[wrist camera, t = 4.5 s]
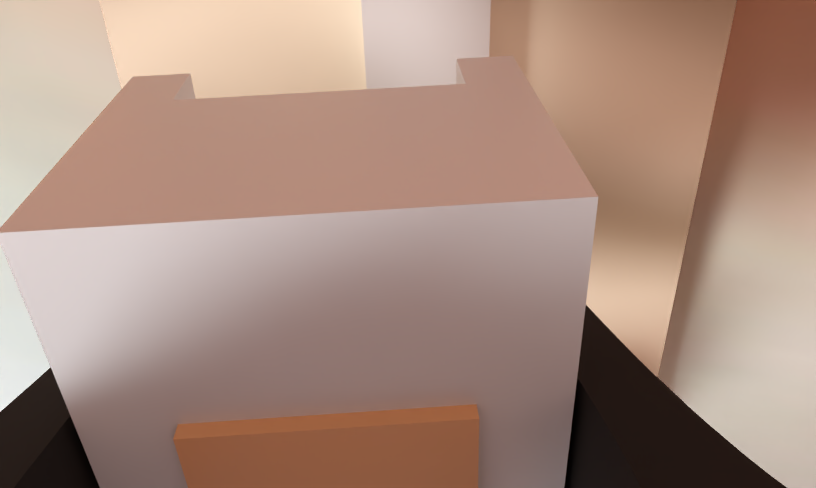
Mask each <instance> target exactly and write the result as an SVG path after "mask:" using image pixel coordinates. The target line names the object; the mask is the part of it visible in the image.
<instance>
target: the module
mask: <svg viewBox="0 0 816 488" xmlns="http://www.w3.org/2000/svg"><path fill="white" fill-rule="evenodd" d="M456 82H457V84H451V85H434V86H416V87H398V88H380V89H362V90H344V91H327V92H309V93H291V94H273V95H255V96H238V97H220V98H202V99H196V98H195V93H194V88H193V83H192V79H191V74H190V73H189V74H171V75H152V76H134V77H132V78H131V79H130V80H129V81H128V83H127V84H126V85H125V86H124V87H123V88H122V89H121V91H120V92H119V93H118V94H117V95H116V96H115V97H114V99H113V100H112V101H111V102H110V103H109V104H108V105H107V107H106V108H105V109H104V110H103V111H102V112H101V113H100V115H99V116H98V117H97V118H96V119H95V120H94V122H93V123H92V124H91V125H90V126H89V127H88V128H87V130H86V131H85V132H84V133H83V134H82V135H81V136H80V138H79V139H78V140H77V141H76V142H75V143H74V144H73V146H72V147H71V148H70V149H69V150H68V151H67V152H66V154H65V155H64V156H63V157H62V158H61V159H60V160H59V162H58V163H57V164H56V165H55V166H54V167H53V168H52V170H51V171H50V172H49V173H48V174H47V175H46V176H45V178H44V179H43V180H42V181H41V182H40V183H39V184H38V186H37V187H36V188H35V189H34V190H33V191H32V192H31V194H30V195H29V196H28V197H27V198H26V199H25V200H24V202H23V203H22V204H21V205H20V206H19V207H18V208H17V210H16V211H15V212H14V213H13V214H12V215H11V216H10V218H9V219H8V220H7V221H6V222H5V223H4V224H3V226H2V227H1V228H0V244H1V247H2V249H3V252H4V254H5V256H6V259H7V261H8V264H9V266H10V269H11V271H12V274H13V276H14V279H15V281H16V283H17V286H18V288H19V291H20V293H21V296H22V298H23V301H24V303H25V305H26V308H27V310H28V313H29V315H30V318H31V320H32V323H33V325H34V328H35V330H36V332H37V335H38V337H39V340H40V342H41V345H42V347H43V350H44V352H45V354H46V357H47V359H48V362H49V364H50V367H51V369H52V372H53V374H54V377H55V379H56V381H57V384H58V386H59V389H60V391H61V394H62V396H63V399H64V401H65V403H66V406H67V408H68V411H69V413H70V416H71V418H72V421H73V423H74V425H75V428H76V430H77V433H78V435H79V438H80V440H81V443H82V445H83V448H84V450H85V452H86V455H87V457H88V460H89V462H90V465H91V467H92V470H93V472H94V474H95V477H96V479H97V482H98V484H99V487H100V488H564V486H565V477H566V469H567V460H568V452H569V443H570V435H571V426H572V418H573V409H574V401H575V392H576V384H577V375H578V367H579V358H580V350H581V341H582V333H583V324H584V316H585V307H586V299H587V290H588V281H589V273H590V264H591V256H592V247H593V239H594V230H595V222H596V213H597V205H598V195H597V194H596V192H595V190H594V189H593V187H592V185H591V184H590V182H589V180H588V179H587V177H586V175H585V174H584V172H583V171H582V169H581V167H580V166H579V164H578V162H577V161H576V159H575V157H574V156H573V154H572V152H571V151H570V149H569V147H568V146H567V144H566V142H565V141H564V139H563V138H562V136H561V134H560V133H559V131H558V129H557V128H556V126H555V124H554V123H553V121H552V119H551V118H550V116H549V114H548V113H547V111H546V110H545V108H544V106H543V105H542V103H541V101H540V100H539V98H538V96H537V95H536V93H535V91H534V90H533V88H532V86H531V85H530V83H529V81H528V80H527V78H526V77H525V75H524V73H523V72H522V70H521V68H520V67H519V65H518V63H517V62H516V60H515V58H514V57H513V56H496V57H478V58H460V59H456Z"/></svg>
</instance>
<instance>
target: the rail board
mask: <svg viewBox="0 0 816 488" xmlns="http://www.w3.org/2000/svg"><path fill="white" fill-rule="evenodd" d="M99 3H100V7H101V11H102V15H103V19H104V22H105V26H106V30H107V34H108V38H109V42H110V46H111V50H112V54H113V58H114V62H115V66H116V70H117V74H118V78H119V82H120V86H121V89H122V88H123V87H124V86H125V85H126V84H127V83H128V81H129V80H130V79H131V78H132V77H134V76H152V75H171V74H189V73H190V74H191V79H192V83H193V88H194V93H195V98H196V99H202V98H220V97H238V96H255V95H273V94H291V93H309V92H327V91H344V90H362V89H380V88H398V87H416V86H434V85H451V84H457V82H456V59H460V58H478V57H496V56H513V57H514V58H515V60H516V62H517V63H518V65H519V67H520V68H521V70H522V72H523V73H524V75H525V77H526V78H527V80H528V81H529V83H530V85H531V86H532V88H533V90H534V91H535V93H536V95H537V96H538V98H539V100H540V101H541V103H542V105H543V106H544V108H545V110H546V111H547V113H548V114H549V116H550V118H551V119H552V121H553V123H554V124H555V126H556V128H557V129H558V131H559V133H560V134H561V136H562V138H563V139H564V141H565V142H566V144H567V146H568V147H569V149H570V151H571V152H572V154H573V156H574V157H575V159H576V161H577V162H578V164H579V166H580V167H581V169H582V171H583V172H584V174H585V175H586V177H587V179H588V180H589V182H590V184H591V185H592V187H593V189H594V190H595V192H596V194H597V195H598V205H597V213H596V222H595V230H594V239H593V247H592V256H591V264H590V273H589V281H588V290H587V299H586V305H587V306H588V307H589V308H590V309H591V310H592V311H593V312H594V314H595V315H596V316H597V317H598V318H599V319H600V320H601V321H602V322H603V323H604V324H605V325H606V326H607V327H608V328H609V329H610V330H611V331H612V332H613V333H614V334H615V335H616V337H617V338H618V339H619V340H620V341H621V342H622V343H623V344H624V345H625V346H626V347H627V348H628V349H629V350H630V351H631V352H632V353H633V354H634V355H635V356H636V357H637V358H638V359H639V360H640V361H641V362H642V363H643V364H644V365H645V366H646V367H647V368H648V369H649V370H650V371H651V372H652V373H653V374H654V375H655V376H657V377H658V373H659V369H660V364H661V359H662V354H663V350H664V345H665V340H666V335H667V331H668V326H669V321H670V316H671V312H672V307H673V302H674V297H675V293H676V288H677V283H678V278H679V274H680V269H681V264H682V259H683V255H684V250H685V245H686V241H687V236H688V231H689V226H690V222H691V217H692V212H693V207H694V203H695V198H696V193H697V188H698V184H699V179H700V174H701V169H702V165H703V160H704V155H705V150H706V146H707V141H708V136H709V131H710V127H711V122H712V117H713V112H714V108H715V103H716V98H717V93H718V89H719V84H720V79H721V74H722V70H723V65H724V60H725V55H726V51H727V46H728V41H729V36H730V32H731V27H732V22H733V18H734V13H735V8H736V3H737V0H99Z"/></svg>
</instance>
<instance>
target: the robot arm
mask: <svg viewBox="0 0 816 488" xmlns="http://www.w3.org/2000/svg"><path fill="white" fill-rule="evenodd" d="M0 488H100V487H99V484H98V482H97V479H96V477H95V474H94V472H93V470H92V467H91V465H90V462H89V460H88V457H87V455H86V452H85V450H84V448H83V445H82V443H81V440H80V438H79V435H78V433H77V430H76V428H75V425H74V423H73V421H72V418H71V416H70V413H69V411H68V408H67V406H66V403H65V401H64V399H63V396H62V394H61V391H60V389H59V386H58V384H57V381H56V379H55V377H54V374H53V372H52V369H51V368H49V369H48V370H47V371H46V372H45V373H44V374H43V375H42V376H41V377H39V378H38V379H37V380H36V381H35V382H34V383H33V384H32V385H30V386H29V387H28V388H27V389H26V390H25V391H24V392H23V393H21V394H20V395H19V396H18V397H17V398H16V399H15V400H13V401H12V402H11V403H10V404H9V405H8V406H7V407H6V408H4V409H3V410H2V411H1V412H0ZM564 488H786V487H785V486H784V485H782V484H781V483H780V482H778V481H777V480H776V479H774V478H773V477H772V476H770V475H769V474H768V473H766V472H765V471H764V470H763V469H761V468H760V467H759V466H758V465H756V464H755V463H754V462H753V461H751V460H750V459H749V458H747V457H746V456H745V455H744V454H743V453H741V452H740V451H739V450H738V449H737V448H735V447H734V446H733V445H732V444H731V443H730V442H728V441H727V440H726V439H725V438H724V437H722V436H721V435H720V434H719V433H718V432H717V431H715V430H714V429H713V428H712V427H711V426H710V425H708V424H707V423H706V422H705V421H704V420H703V419H702V418H701V417H699V416H698V415H697V414H696V413H695V412H694V411H693V410H692V409H691V408H689V407H688V406H687V405H686V404H685V403H684V402H683V401H682V400H681V399H680V398H679V397H678V396H677V395H676V394H674V393H673V392H672V391H671V390H670V389H669V388H668V387H667V386H666V385H665V384H664V383H663V382H662V381H661V380H660V379H659V378H658V377H657V376H655V375H654V374H653V373H652V372H651V371H650V370H649V369H648V368H647V367H646V366H645V365H644V364H643V363H642V362H641V361H640V360H639V359H638V358H637V357H636V356H635V355H634V354H633V353H632V352H631V351H630V350H629V349H628V348H627V347H626V346H625V345H624V344H623V343H622V342H621V341H620V340H619V339H618V338H617V337H616V335H615V334H614V333H613V332H612V331H611V330H610V329H609V328H608V327H607V326H606V325H605V324H604V323H603V322H602V321H601V320H600V319H599V318H598V317H597V316H596V315H595V314H594V312H593V311H592V310H591V309H590V308H589V307H588V306H587V305H586V307H585V316H584V324H583V333H582V341H581V350H580V358H579V367H578V375H577V384H576V392H575V401H574V409H573V418H572V426H571V435H570V443H569V452H568V460H567V469H566V477H565V486H564Z"/></svg>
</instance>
